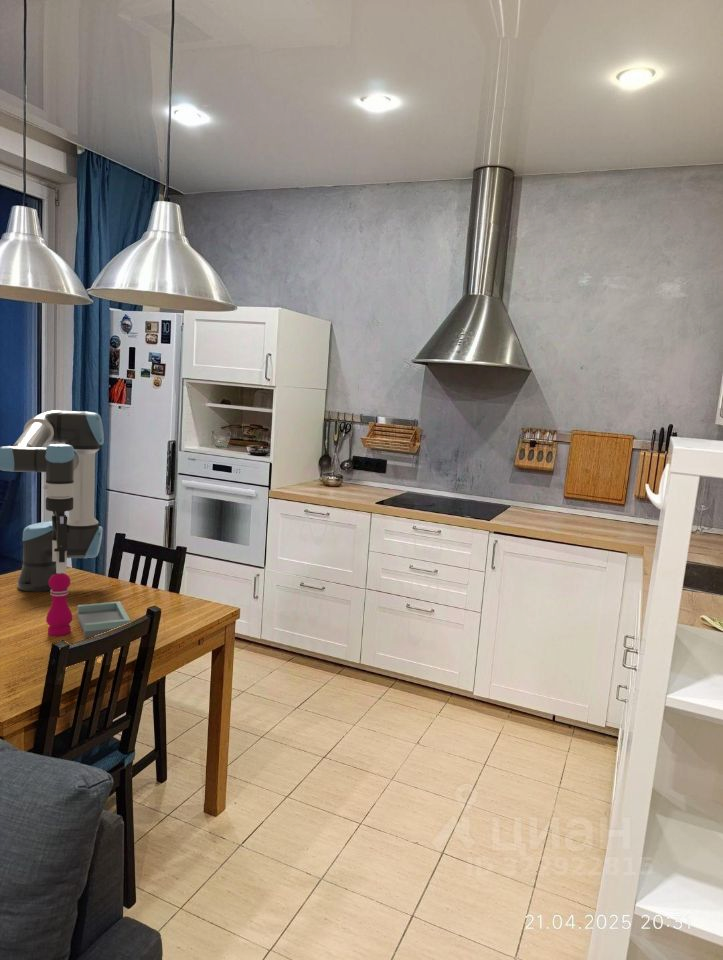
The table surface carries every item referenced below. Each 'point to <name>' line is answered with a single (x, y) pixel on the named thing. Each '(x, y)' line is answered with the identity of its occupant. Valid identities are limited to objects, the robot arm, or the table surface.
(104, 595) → the table surface
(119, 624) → the tray
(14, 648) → the table surface
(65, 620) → the pepper mill
